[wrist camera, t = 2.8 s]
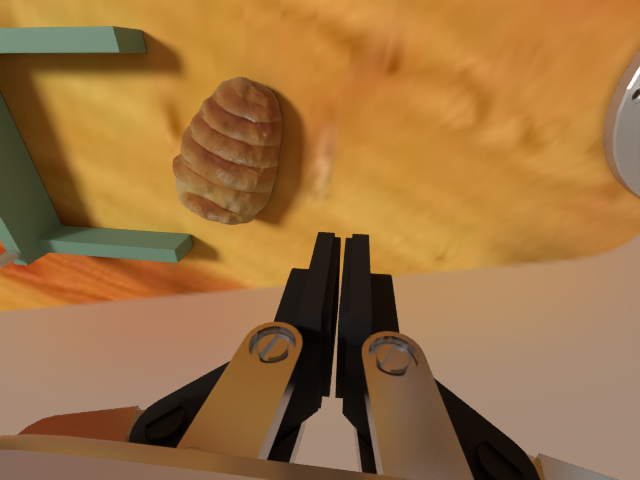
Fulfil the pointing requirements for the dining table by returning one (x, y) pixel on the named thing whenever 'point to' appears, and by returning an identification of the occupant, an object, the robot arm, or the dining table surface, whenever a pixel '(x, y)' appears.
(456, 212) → the dining table surface
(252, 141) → the pastry
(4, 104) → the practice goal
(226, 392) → the robot arm
